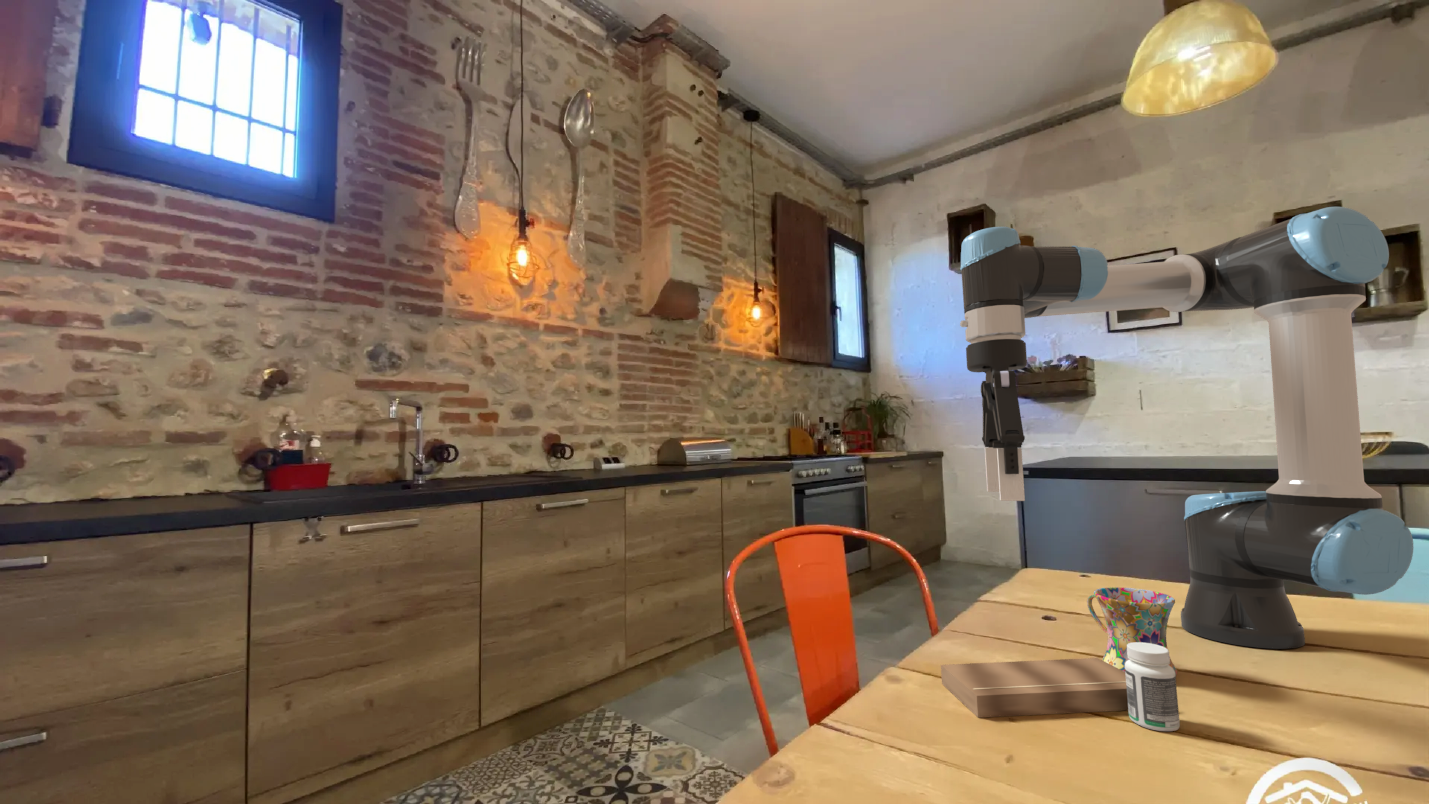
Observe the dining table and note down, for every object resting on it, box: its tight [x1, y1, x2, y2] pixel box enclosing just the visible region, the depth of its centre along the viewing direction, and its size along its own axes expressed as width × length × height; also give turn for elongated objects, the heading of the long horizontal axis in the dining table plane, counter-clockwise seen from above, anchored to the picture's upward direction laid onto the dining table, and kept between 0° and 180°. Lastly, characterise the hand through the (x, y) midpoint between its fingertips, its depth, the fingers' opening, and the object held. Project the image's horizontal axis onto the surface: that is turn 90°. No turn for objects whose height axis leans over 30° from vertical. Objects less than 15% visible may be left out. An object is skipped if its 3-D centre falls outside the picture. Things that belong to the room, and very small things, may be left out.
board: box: [940, 657, 1128, 718], centre depth 76 cm, size 22×10×3 cm, turn 93°
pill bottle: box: [1125, 642, 1181, 732], centre depth 68 cm, size 5×5×8 cm
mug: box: [1086, 586, 1178, 676], centre depth 84 cm, size 12×9×11 cm
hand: (1004, 496), depth 80 cm, fingers open, 13 cm apart
